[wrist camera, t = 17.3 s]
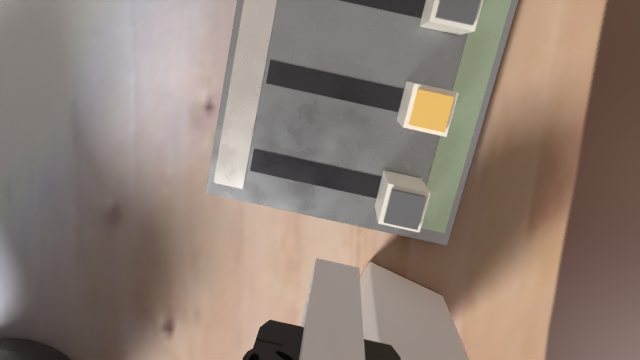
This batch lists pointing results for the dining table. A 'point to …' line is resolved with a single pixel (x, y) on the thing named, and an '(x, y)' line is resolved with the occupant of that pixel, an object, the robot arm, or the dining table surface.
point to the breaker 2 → (451, 15)
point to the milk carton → (407, 317)
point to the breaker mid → (426, 108)
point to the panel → (349, 106)
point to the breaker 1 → (401, 201)
